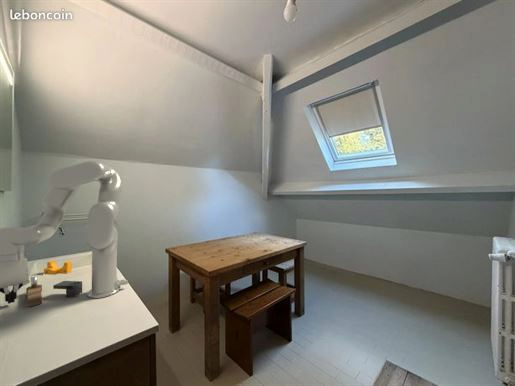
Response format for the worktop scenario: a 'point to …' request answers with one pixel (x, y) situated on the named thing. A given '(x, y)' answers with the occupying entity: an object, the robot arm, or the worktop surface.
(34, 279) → the pintle
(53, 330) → the worktop surface
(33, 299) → the link
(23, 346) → the worktop surface
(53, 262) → the pipe clamp
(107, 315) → the worktop surface
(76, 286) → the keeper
